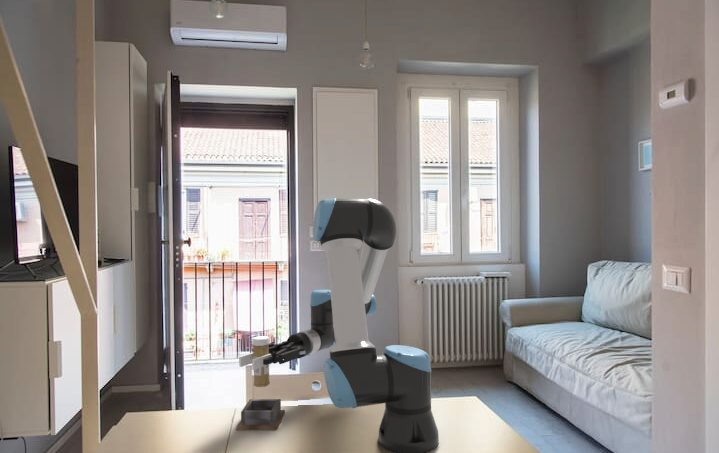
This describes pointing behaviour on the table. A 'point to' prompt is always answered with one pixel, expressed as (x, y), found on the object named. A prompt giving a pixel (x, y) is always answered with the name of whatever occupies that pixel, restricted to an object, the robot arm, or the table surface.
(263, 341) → the sprinkles bottle
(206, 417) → the table surface
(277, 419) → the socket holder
